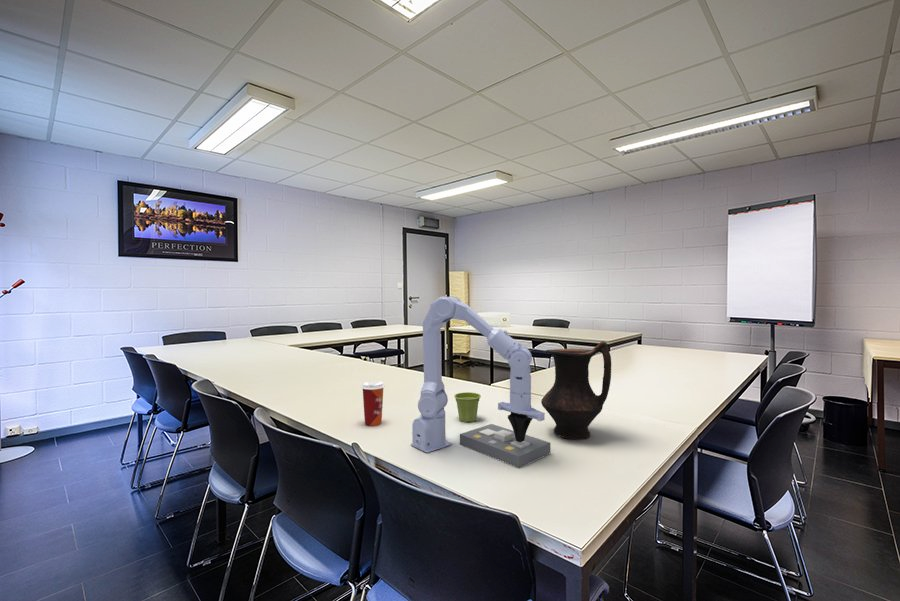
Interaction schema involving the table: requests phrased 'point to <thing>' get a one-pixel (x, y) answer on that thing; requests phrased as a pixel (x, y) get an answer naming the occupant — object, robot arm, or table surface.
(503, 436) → the middle button
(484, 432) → the end button
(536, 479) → the table surface
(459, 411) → the plant pot
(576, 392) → the jug
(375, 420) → the paper cup
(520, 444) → the end button
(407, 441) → the table surface
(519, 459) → the button board
